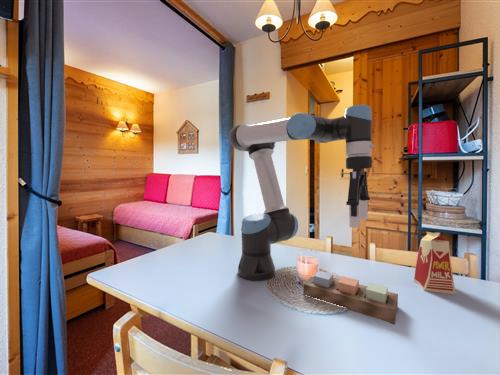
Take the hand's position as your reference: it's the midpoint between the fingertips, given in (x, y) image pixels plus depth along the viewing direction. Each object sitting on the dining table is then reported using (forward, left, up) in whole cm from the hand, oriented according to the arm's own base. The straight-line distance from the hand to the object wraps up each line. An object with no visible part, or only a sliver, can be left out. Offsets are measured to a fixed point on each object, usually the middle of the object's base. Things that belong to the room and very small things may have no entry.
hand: (359, 223), depth 76 cm
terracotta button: (-2, -4, -23) cm, 23 cm away
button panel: (-2, -4, -25) cm, 25 cm away
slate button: (-10, -4, -23) cm, 25 cm away
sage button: (+6, -4, -23) cm, 24 cm away
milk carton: (+20, +23, -25) cm, 39 cm away
